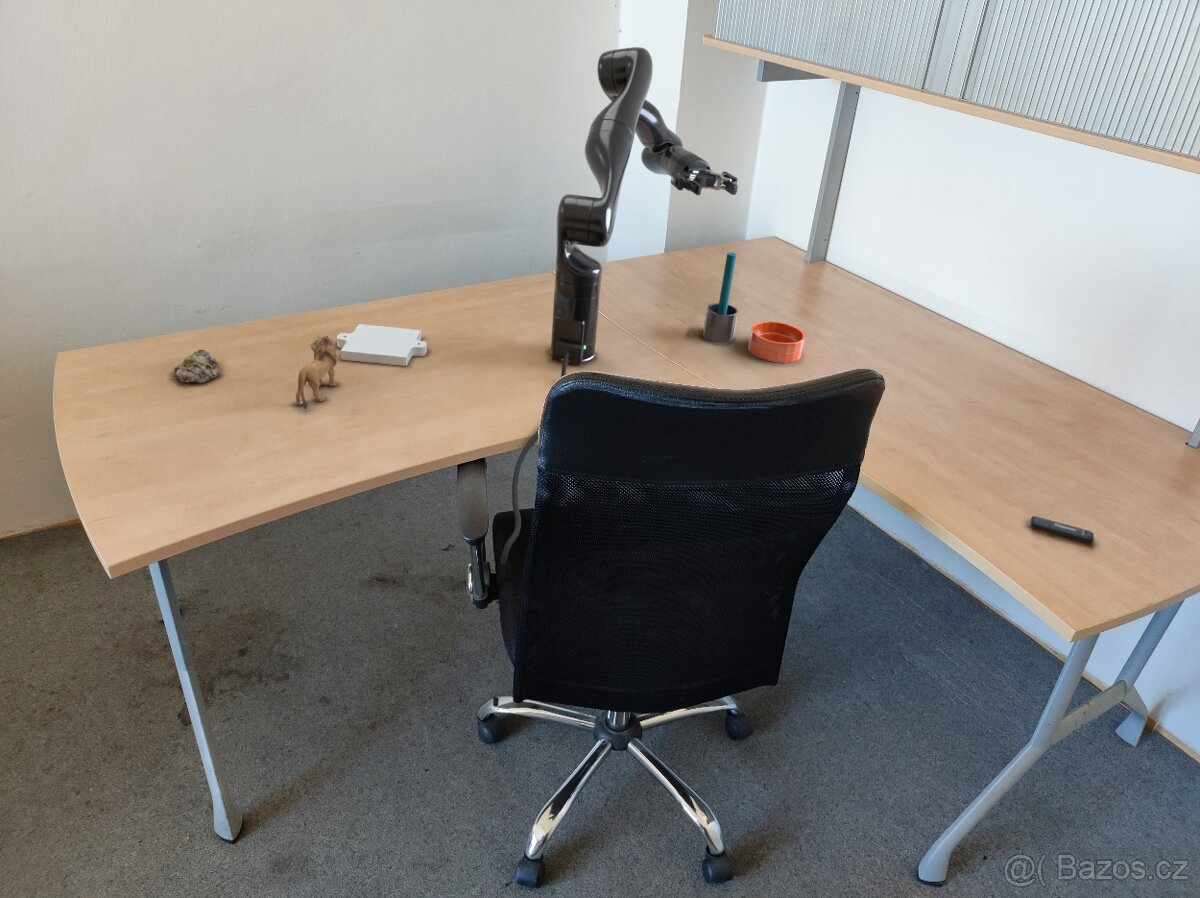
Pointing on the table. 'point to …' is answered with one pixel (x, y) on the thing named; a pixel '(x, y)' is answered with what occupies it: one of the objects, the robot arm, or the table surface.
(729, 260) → the straw
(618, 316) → the table surface
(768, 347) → the bowl
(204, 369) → the mineral rock
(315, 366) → the lion figurine
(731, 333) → the tumbler
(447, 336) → the table surface
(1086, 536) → the usb stick
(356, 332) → the mounting plate
